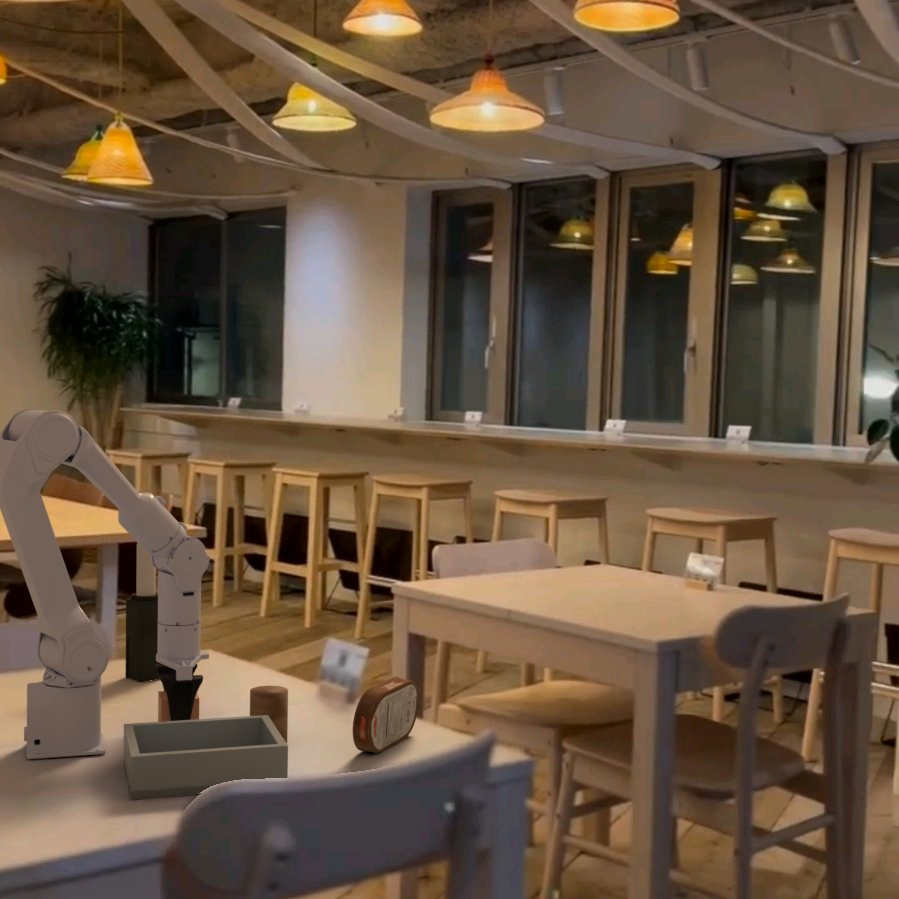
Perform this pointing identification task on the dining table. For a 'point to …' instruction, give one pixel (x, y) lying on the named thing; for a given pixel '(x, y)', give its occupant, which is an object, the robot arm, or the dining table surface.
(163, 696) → the terracotta cube
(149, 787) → the tote
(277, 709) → the walnut cylinder
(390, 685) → the tin
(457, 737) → the dining table surface
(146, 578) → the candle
